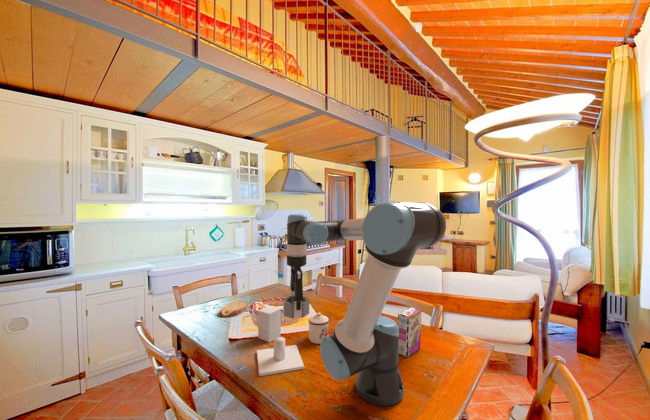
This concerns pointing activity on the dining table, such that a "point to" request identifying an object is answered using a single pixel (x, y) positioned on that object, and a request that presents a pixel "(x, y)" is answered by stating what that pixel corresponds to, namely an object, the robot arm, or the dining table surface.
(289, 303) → the ring
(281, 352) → the post
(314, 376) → the dining table surface
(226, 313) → the slice of bread
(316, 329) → the teacup with lid
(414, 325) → the candy bar box
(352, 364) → the robot arm
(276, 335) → the supplement box
